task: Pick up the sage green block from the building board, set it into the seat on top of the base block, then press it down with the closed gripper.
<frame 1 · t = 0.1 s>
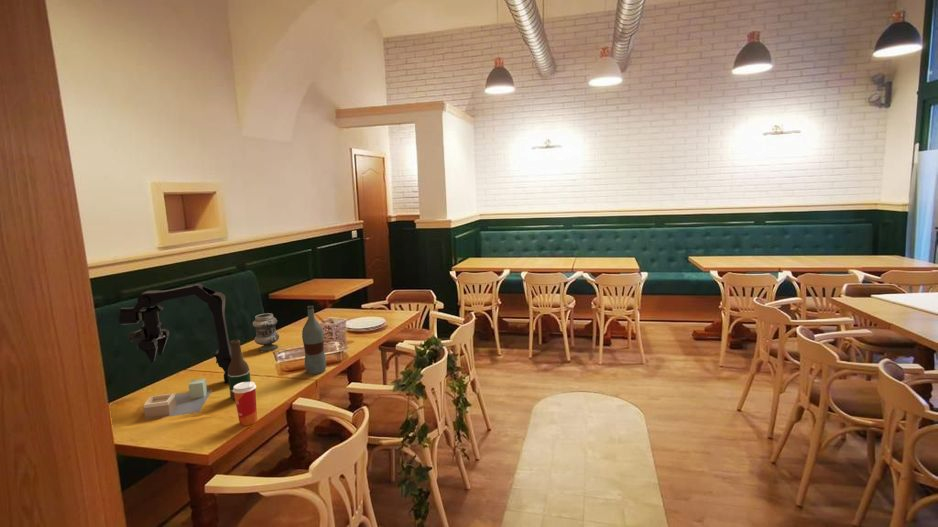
hand: (156, 358, 206), 15 cm above the table, tool pointing down, fingers open, 9 cm apart
paper cup: (248, 422, 178), on the table
apothecary jar: (268, 349, 260), on the table
vodka: (316, 371, 226), on the table
green block: (199, 395, 201), point 1 cm above the table, touching building board
building board: (181, 405, 194), on the table
beer bottle: (241, 399, 199), on the table
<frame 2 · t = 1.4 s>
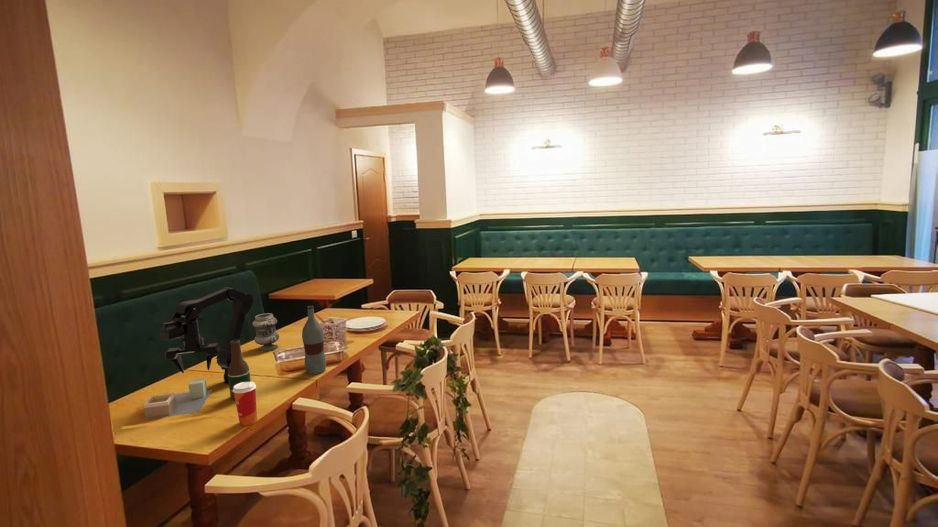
hand: (196, 371, 200), 11 cm above the table, tool pointing down, fingers open, 9 cm apart
nothing on the table moved.
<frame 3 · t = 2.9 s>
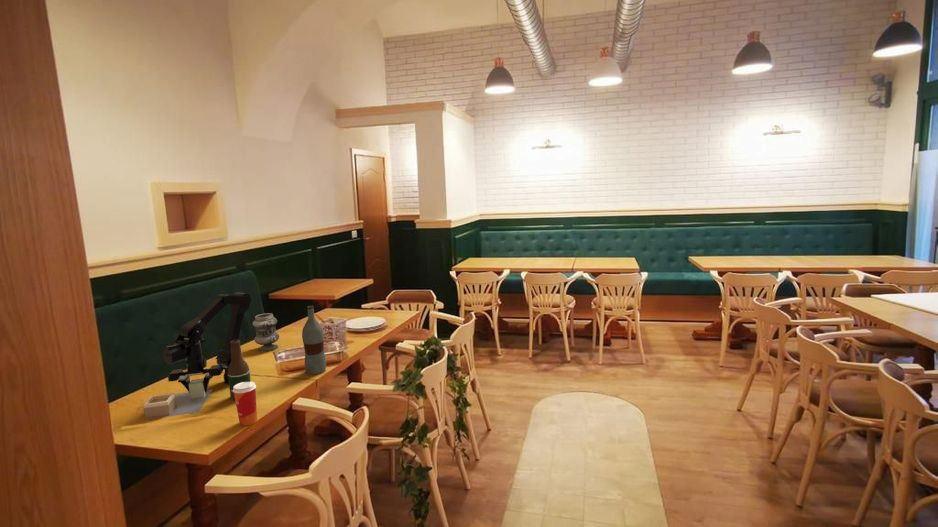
hand: (198, 393, 201), 2 cm above the table, tool pointing down, fingers closed on green block, 5 cm apart
green block: (199, 395, 201), point 1 cm above the table, touching building board, gripper
everything else where it was.
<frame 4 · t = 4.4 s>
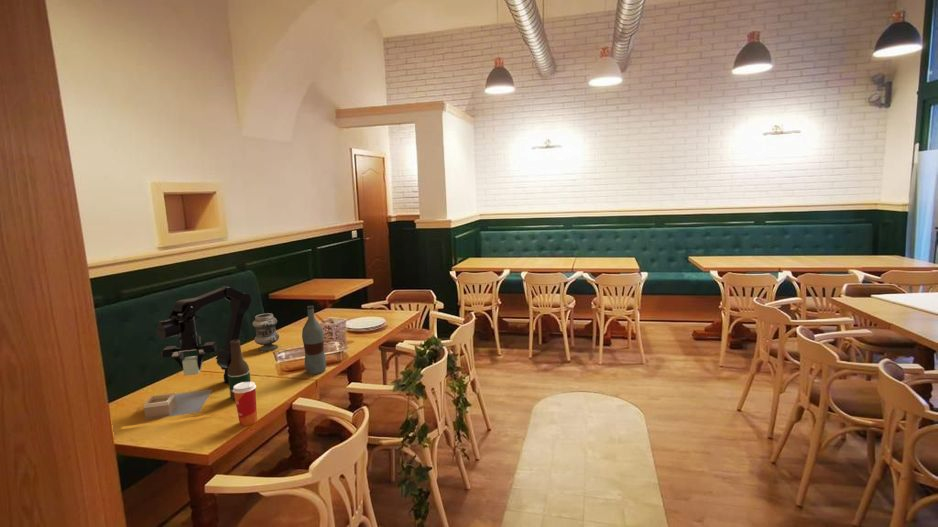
hand: (192, 370, 198), 12 cm above the table, tool pointing down, fingers closed on green block, 5 cm apart
green block: (192, 372, 198), point 11 cm above the table, touching gripper
everything else where it was.
when the fingers open (8 cm above the table, at t = 6.3 s): green block drops 2 cm, resting on building board.
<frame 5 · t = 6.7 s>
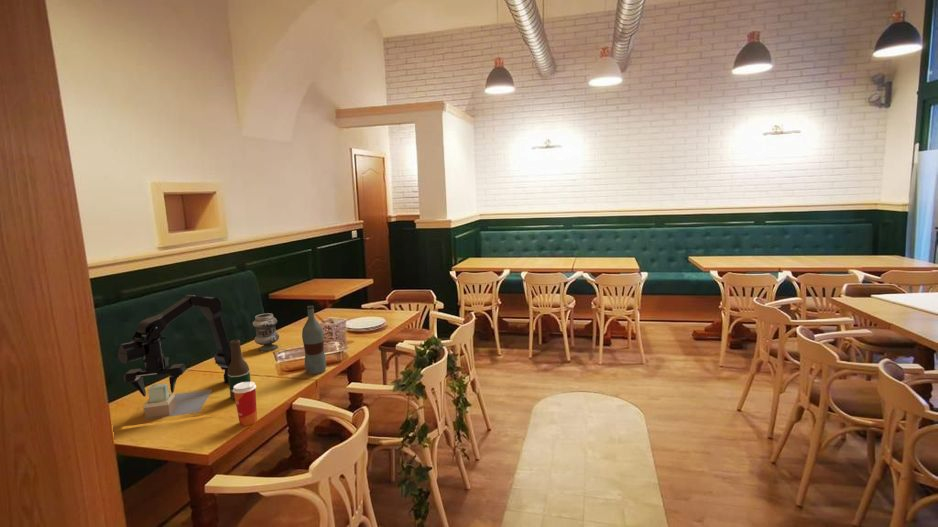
hand: (158, 394, 186), 8 cm above the table, tool pointing down, fingers open, 9 cm apart
green block: (159, 401, 187), point 5 cm above the table, touching building board
everything else where it was.
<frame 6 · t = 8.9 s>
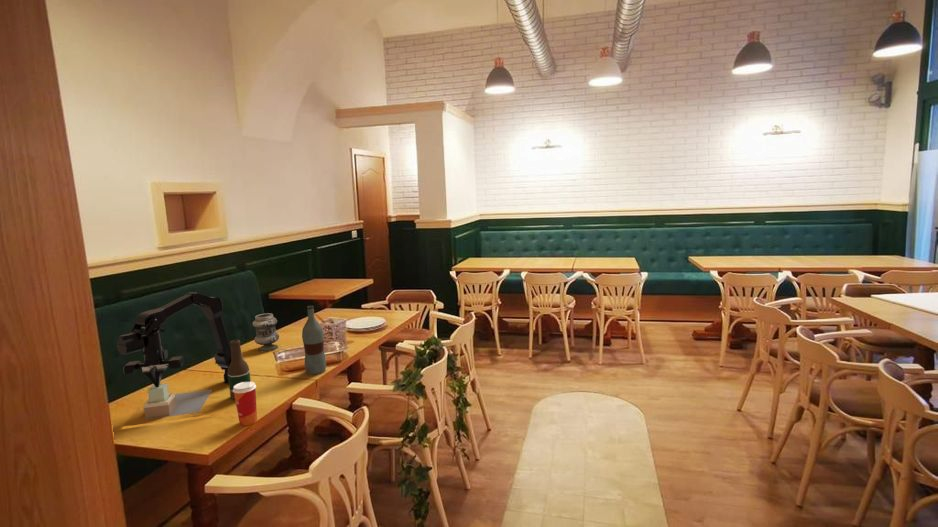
hand: (157, 386, 186), 11 cm above the table, tool pointing down, fingers closed, pressing on green block
green block: (159, 401, 187), point 5 cm above the table, touching building board, gripper
everything else where it was.
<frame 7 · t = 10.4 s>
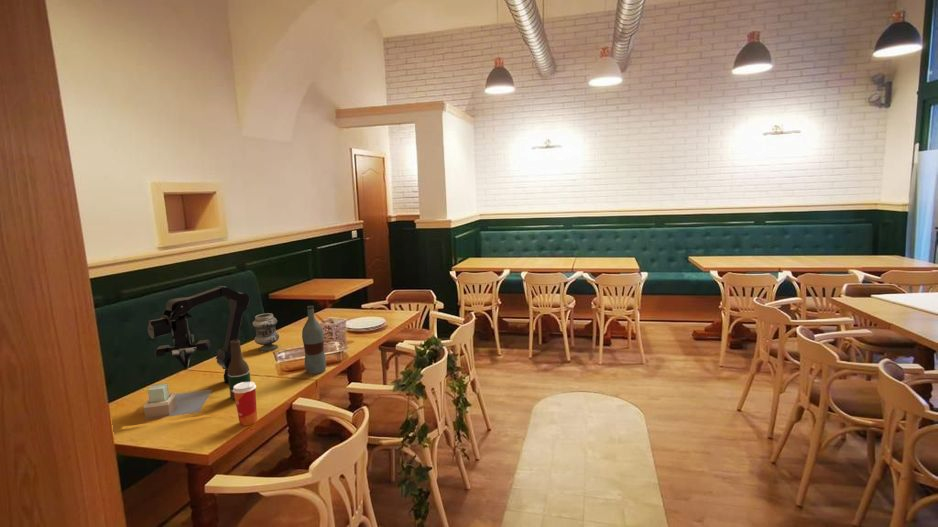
hand: (186, 368, 199), 13 cm above the table, tool pointing down, fingers closed
green block: (159, 401, 187), point 5 cm above the table, touching building board
everything else where it was.
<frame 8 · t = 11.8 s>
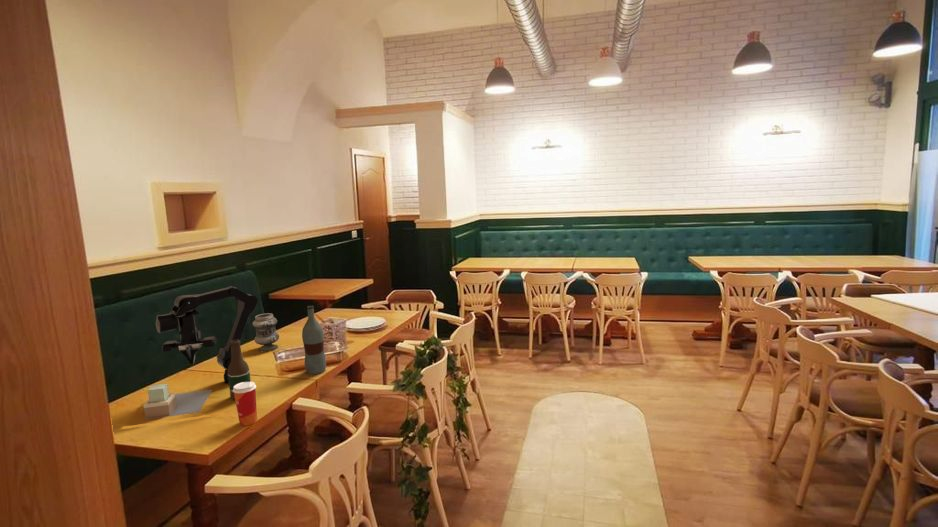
hand: (192, 364, 202), 13 cm above the table, tool pointing down, fingers closed
nothing on the table moved.
at the end: green block 0.0 cm from the target spot on the building board, point 5.0 cm above the building board's base; green block tilted 0°; the gripper is holding nothing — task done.
